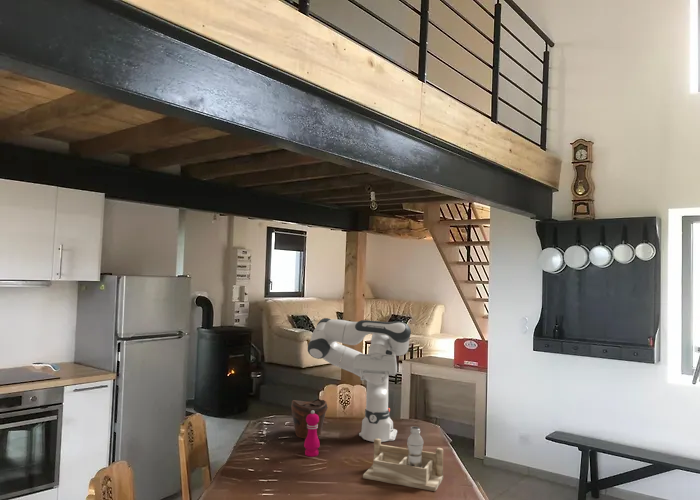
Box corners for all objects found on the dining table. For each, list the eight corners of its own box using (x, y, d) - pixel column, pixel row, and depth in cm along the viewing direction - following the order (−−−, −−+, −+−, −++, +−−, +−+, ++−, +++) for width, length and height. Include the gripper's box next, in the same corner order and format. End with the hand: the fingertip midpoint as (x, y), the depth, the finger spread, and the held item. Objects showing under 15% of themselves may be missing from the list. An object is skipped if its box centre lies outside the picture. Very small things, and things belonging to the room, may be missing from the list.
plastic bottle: (404, 475, 220) (405, 425, 220) (420, 474, 221) (421, 425, 221) (408, 481, 213) (409, 430, 214) (424, 480, 214) (425, 430, 215)
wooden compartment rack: (374, 466, 233) (375, 438, 233) (443, 477, 222) (443, 448, 222) (363, 478, 220) (363, 448, 220) (435, 491, 208) (435, 460, 209)
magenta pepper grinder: (317, 457, 241) (318, 412, 242) (301, 456, 243) (302, 411, 243) (321, 452, 249) (322, 408, 249) (306, 450, 250) (307, 407, 250)
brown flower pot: (334, 432, 278) (334, 397, 278) (311, 443, 261) (311, 406, 261) (307, 426, 287) (307, 393, 288) (283, 436, 270) (283, 400, 271)
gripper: (354, 349, 251) (348, 374, 241) (398, 352, 245) (393, 378, 236) (356, 357, 255) (351, 382, 245) (399, 360, 249) (395, 386, 240)
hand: (372, 380), depth 240 cm, fingers open, 8 cm apart
